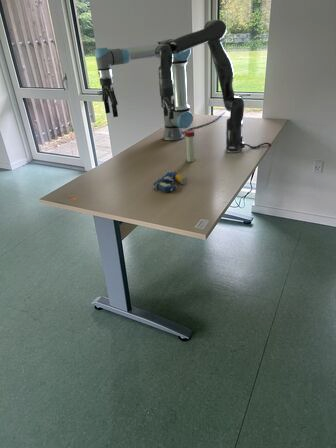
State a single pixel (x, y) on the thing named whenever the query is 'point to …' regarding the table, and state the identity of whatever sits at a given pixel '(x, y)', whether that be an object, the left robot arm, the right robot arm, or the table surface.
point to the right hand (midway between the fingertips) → (168, 117)
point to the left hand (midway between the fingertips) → (111, 114)
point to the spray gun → (169, 181)
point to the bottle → (190, 148)
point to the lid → (189, 133)
